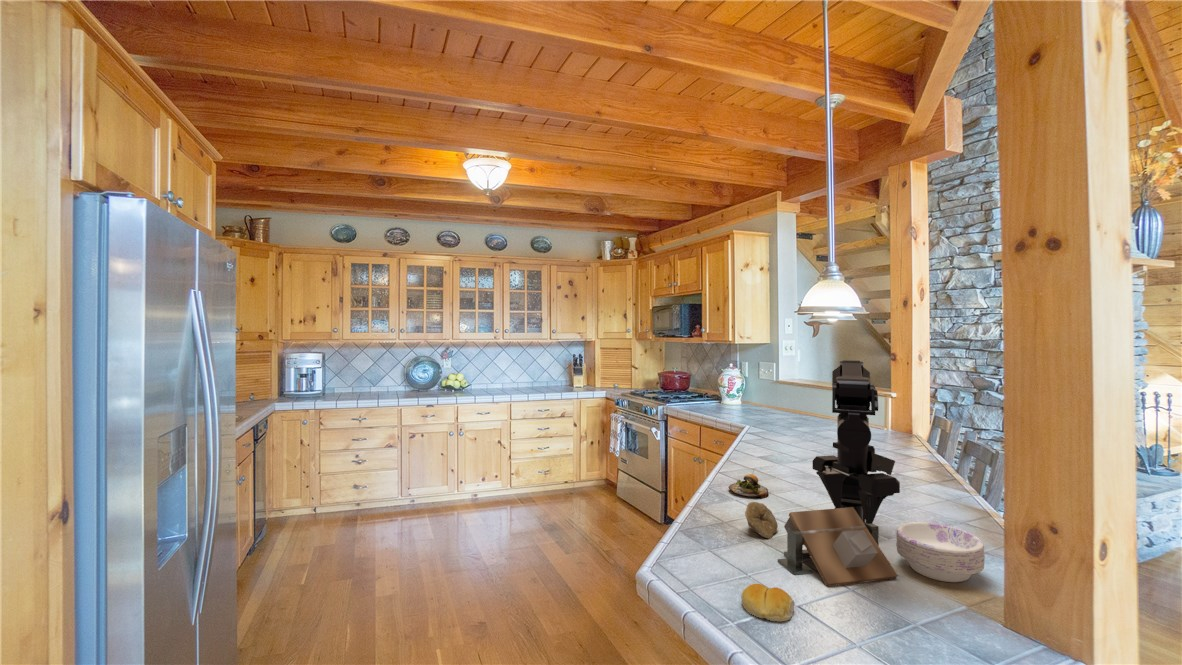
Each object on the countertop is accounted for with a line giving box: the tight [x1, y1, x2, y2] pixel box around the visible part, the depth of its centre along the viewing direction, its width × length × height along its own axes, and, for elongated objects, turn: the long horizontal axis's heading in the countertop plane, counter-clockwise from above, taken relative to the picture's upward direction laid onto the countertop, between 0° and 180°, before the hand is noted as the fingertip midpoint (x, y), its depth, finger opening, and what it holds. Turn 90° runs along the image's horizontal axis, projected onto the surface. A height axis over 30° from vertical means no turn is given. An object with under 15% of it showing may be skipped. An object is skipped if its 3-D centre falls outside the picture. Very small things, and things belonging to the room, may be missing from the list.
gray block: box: [833, 530, 878, 568], centre depth 103 cm, size 5×5×6 cm
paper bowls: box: [895, 521, 986, 583], centre depth 106 cm, size 15×15×8 cm
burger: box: [728, 469, 770, 500], centre depth 157 cm, size 12×12×8 cm
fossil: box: [744, 501, 779, 539], centre depth 127 cm, size 9×4×10 cm
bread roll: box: [741, 583, 795, 623], centre depth 92 cm, size 8×9×4 cm
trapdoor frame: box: [777, 521, 879, 576], centre depth 111 cm, size 23×8×8 cm, turn 102°
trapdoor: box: [783, 507, 899, 587], centre depth 109 cm, size 16×16×6 cm
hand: (852, 515), depth 104 cm, fingers open, 9 cm apart
